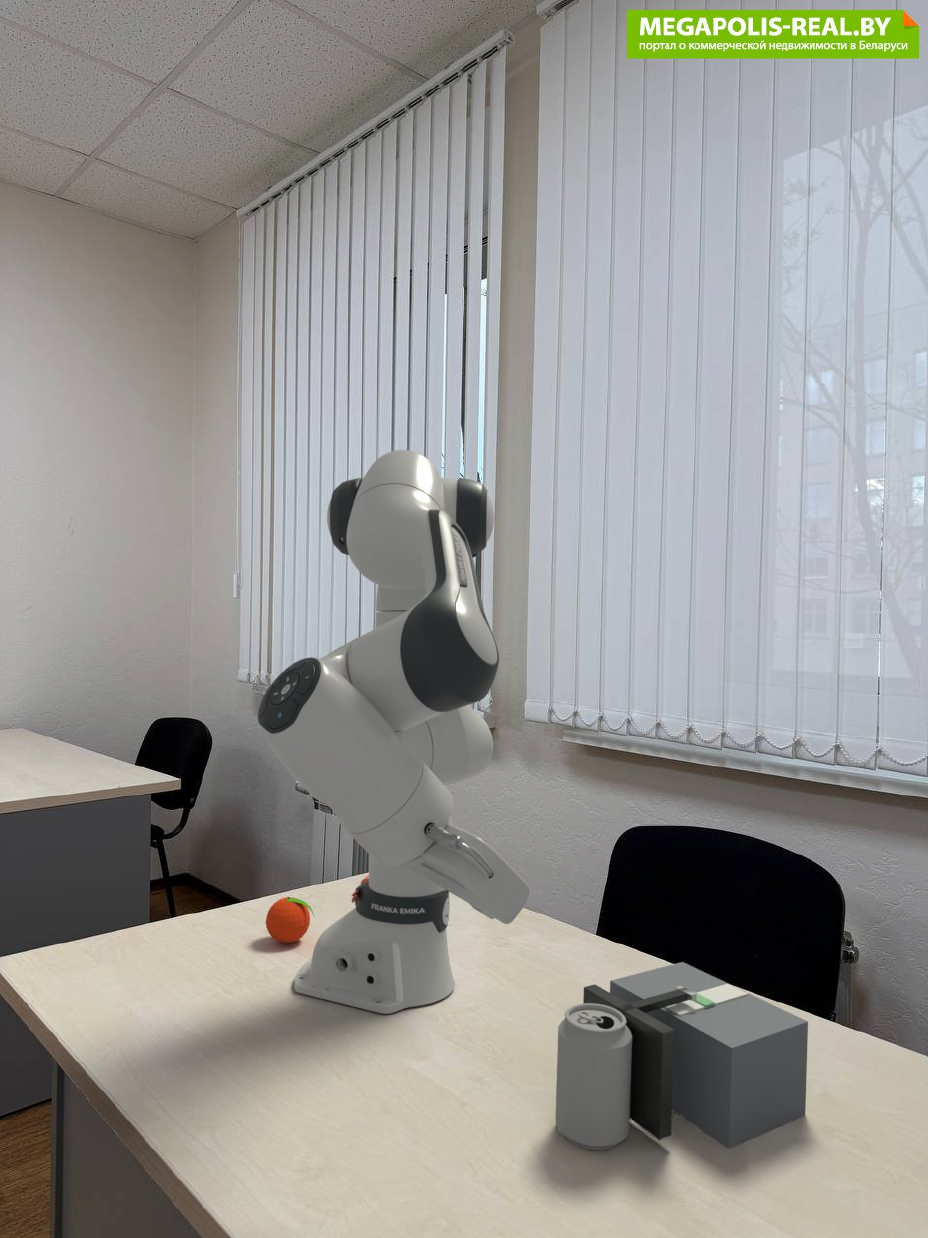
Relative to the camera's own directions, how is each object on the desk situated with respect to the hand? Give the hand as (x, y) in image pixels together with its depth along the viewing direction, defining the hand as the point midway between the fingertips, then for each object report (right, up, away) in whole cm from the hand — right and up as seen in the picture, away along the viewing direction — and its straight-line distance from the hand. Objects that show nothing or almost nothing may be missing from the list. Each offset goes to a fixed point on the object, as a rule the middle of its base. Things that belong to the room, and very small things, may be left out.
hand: (490, 908), depth 80 cm
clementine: (-30, -24, +55) cm, 67 cm away
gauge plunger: (+18, -24, +11) cm, 32 cm away
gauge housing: (+24, -26, +15) cm, 38 cm away
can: (+11, -25, +7) cm, 28 cm away
